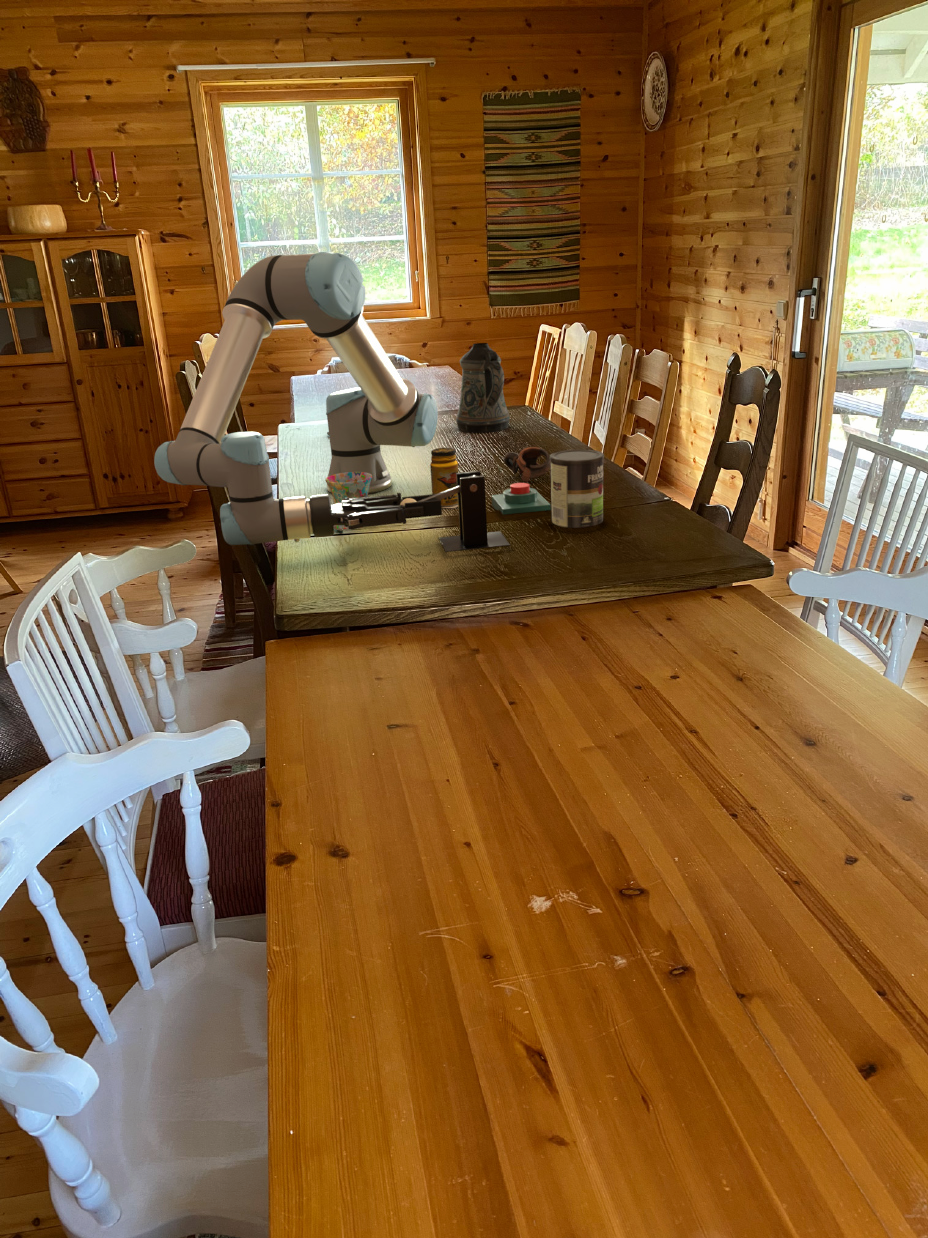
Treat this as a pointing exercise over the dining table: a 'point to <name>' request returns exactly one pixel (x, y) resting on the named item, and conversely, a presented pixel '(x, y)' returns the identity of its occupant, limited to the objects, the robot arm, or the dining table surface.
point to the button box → (519, 502)
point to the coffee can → (577, 488)
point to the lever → (436, 495)
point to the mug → (348, 487)
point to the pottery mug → (528, 462)
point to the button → (520, 488)
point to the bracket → (472, 517)
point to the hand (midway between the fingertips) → (439, 504)
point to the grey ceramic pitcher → (482, 392)
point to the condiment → (444, 474)
